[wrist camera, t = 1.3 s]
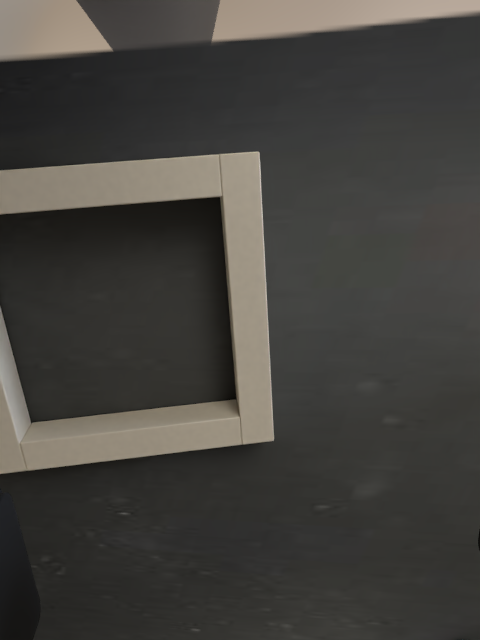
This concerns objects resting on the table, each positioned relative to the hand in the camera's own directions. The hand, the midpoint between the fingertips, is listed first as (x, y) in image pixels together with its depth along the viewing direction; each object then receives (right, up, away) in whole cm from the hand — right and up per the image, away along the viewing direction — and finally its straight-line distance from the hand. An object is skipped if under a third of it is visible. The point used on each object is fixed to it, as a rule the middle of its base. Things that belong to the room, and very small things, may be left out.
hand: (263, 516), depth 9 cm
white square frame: (-7, +4, +15) cm, 17 cm away
